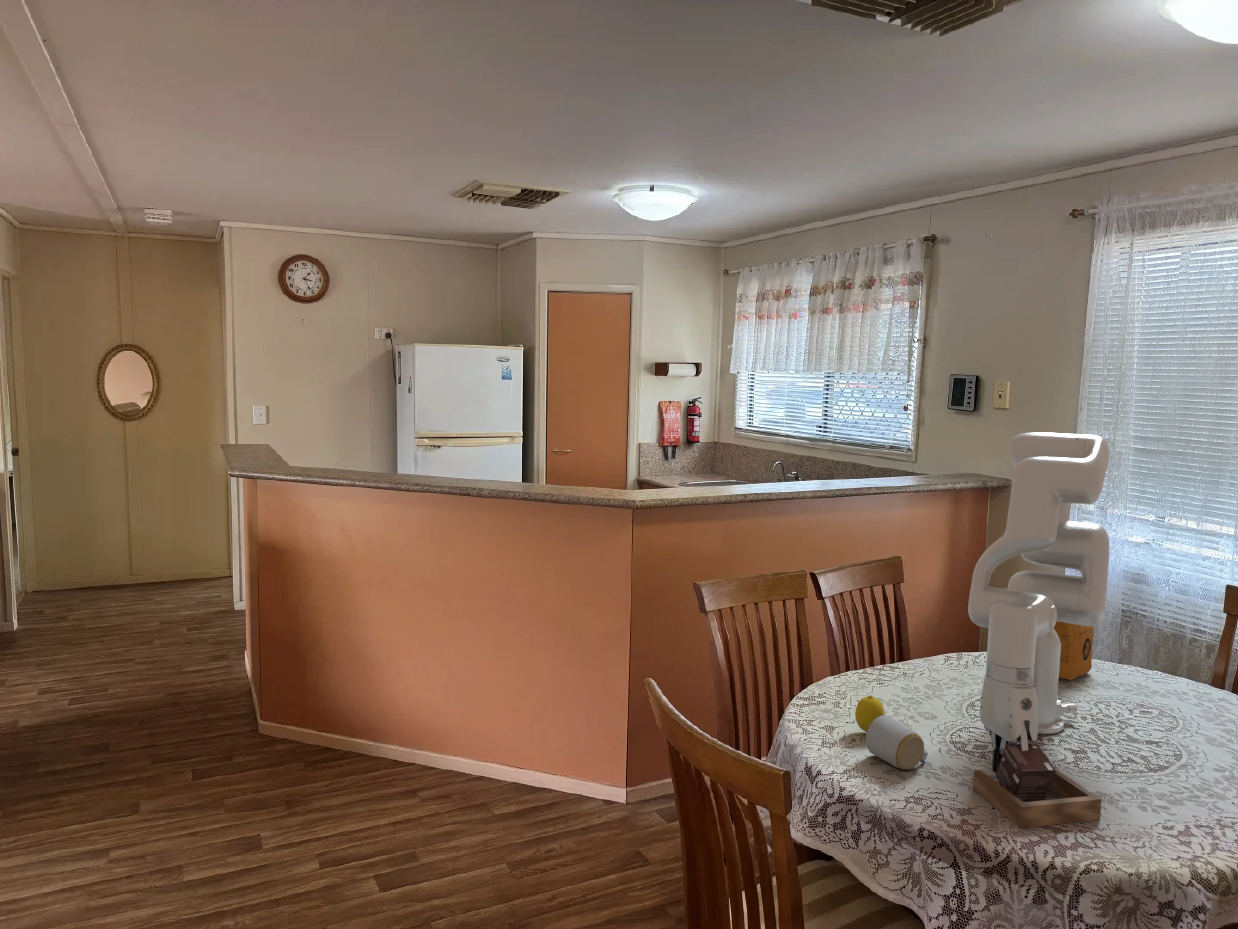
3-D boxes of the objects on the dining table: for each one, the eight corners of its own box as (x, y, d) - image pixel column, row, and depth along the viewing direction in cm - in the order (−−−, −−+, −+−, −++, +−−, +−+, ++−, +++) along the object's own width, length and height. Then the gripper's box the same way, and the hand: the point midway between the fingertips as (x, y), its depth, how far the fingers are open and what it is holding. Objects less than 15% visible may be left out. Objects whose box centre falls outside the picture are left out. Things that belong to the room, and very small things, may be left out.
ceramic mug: (897, 776, 148) (899, 735, 147) (863, 757, 155) (865, 718, 154) (938, 765, 153) (941, 724, 152) (904, 747, 160) (906, 708, 159)
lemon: (885, 741, 162) (887, 702, 161) (855, 738, 163) (857, 699, 162) (882, 730, 167) (883, 691, 166) (853, 727, 168) (855, 689, 168)
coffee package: (1098, 675, 200) (1105, 586, 198) (1071, 685, 194) (1078, 593, 191) (1057, 663, 209) (1063, 577, 206) (1030, 672, 202) (1036, 583, 199)
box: (993, 775, 144) (1004, 743, 141) (1027, 775, 145) (1038, 743, 142) (1010, 803, 139) (1021, 770, 136) (1045, 802, 139) (1057, 770, 136)
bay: (1046, 783, 146) (1047, 764, 146) (1099, 819, 134) (1101, 799, 134) (972, 789, 143) (973, 770, 143) (1020, 828, 131) (1022, 806, 131)
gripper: (1058, 686, 137) (1051, 792, 139) (1002, 656, 152) (996, 753, 154) (1017, 688, 136) (1010, 795, 138) (964, 658, 151) (959, 755, 152)
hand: (1002, 773), depth 146 cm, fingers closed
